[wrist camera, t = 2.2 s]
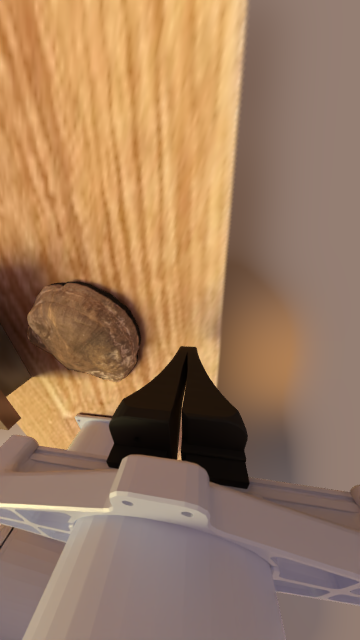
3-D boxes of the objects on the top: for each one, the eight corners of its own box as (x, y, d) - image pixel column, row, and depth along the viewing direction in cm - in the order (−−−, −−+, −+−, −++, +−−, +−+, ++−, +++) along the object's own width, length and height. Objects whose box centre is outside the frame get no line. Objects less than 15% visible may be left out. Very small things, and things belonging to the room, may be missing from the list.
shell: (49, 251, 14) (5, 251, 11) (163, 324, 16) (153, 342, 13) (31, 335, 19) (-4, 352, 15) (120, 384, 21) (106, 408, 17)
